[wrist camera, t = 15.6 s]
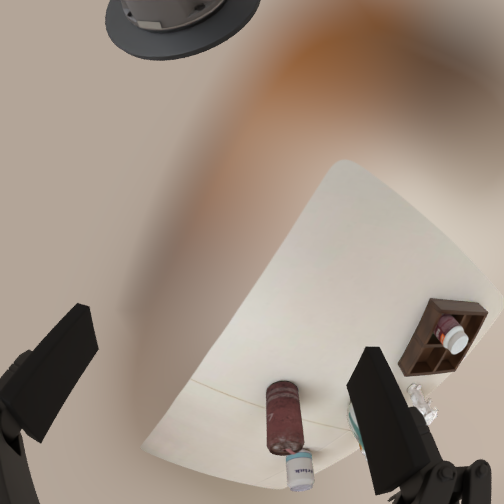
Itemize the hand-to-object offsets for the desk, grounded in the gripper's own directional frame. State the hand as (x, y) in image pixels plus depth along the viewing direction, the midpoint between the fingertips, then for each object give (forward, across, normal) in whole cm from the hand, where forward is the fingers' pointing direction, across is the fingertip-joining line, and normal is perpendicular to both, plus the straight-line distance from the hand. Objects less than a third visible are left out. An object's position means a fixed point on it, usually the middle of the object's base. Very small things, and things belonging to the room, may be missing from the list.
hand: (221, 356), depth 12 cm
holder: (+26, +41, -17) cm, 52 cm away
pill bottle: (+26, +38, -13) cm, 48 cm away
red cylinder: (+26, +11, -32) cm, 43 cm away
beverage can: (+26, +22, -60) cm, 69 cm away
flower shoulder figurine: (+26, +43, -33) cm, 60 cm away
